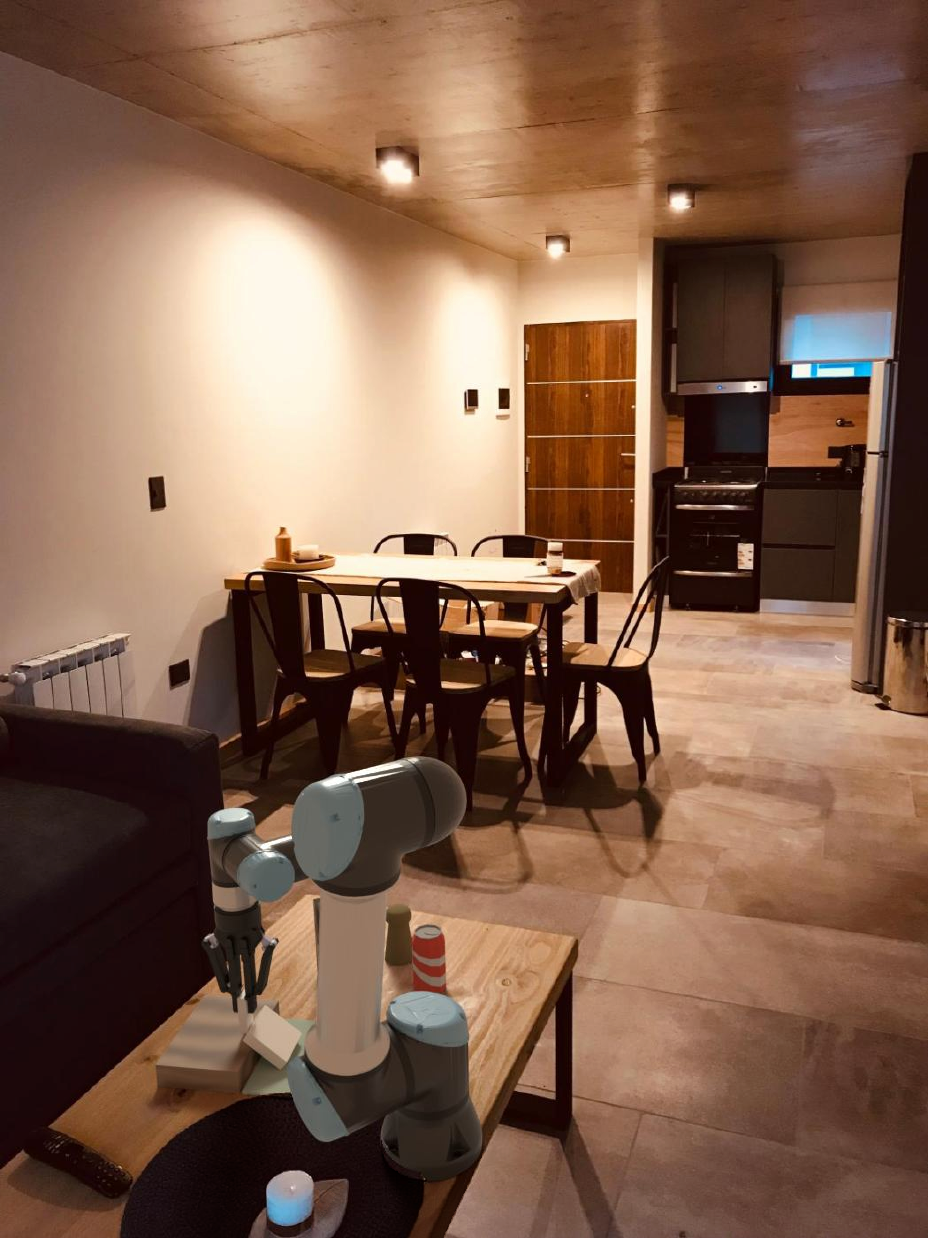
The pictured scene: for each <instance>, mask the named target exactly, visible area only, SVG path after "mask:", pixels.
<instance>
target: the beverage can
mask: <svg viewBox="0 0 928 1238" xmlns="http://www.w3.org/2000/svg"><path fill="white" fill-rule="evenodd" d="M411 937H412V960H413V962H412V982H413V983H412V985H413V990H414V992H416V991H427V992H433V993H438V994H441V993H442V992H443V991H444V990H445V989H446V988H447V969H446V968H447V966H446V961H447V959H446V938H445V935H444V933H443V932H442V927H440V926H438V925H437V924H433V923H432V924H431V923H430V924H429V923H425V924H422V925H419V926H417V927H416V928H415V929H414V932H413V935H411Z"/></svg>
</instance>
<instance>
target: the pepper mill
mask: <svg viewBox="0 0 928 1238" xmlns="http://www.w3.org/2000/svg"><path fill="white" fill-rule="evenodd" d="M411 920H412V910H411V908H410V907H409V906H408V905H406V904H403V903H394V904H392V905H390V906H388V907H387V912H386V924H387V933H386V934H387V935H386V940H385V941H386V942H385V950H384V960H385V962H386V963H387V964H389V965H391V966H395V967H396V966H397V967H401V966H403V967H404V966H406V965H409V964H411V963H413V960H412V932H411V927H410V922H411Z"/></svg>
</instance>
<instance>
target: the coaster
mask: <svg viewBox="0 0 928 1238" xmlns="http://www.w3.org/2000/svg"><path fill="white" fill-rule="evenodd" d="M283 1018H284V1017H282V1016H281V1015H280V1016H279V1015H278V1014H277V1013H275V1012H274V1011H273V1010H272V1009H270V1008H269V1007H268V1006H266V1005H265V1006H264V1007H263V1008H262V1010H261V1011H260V1012H259V1013H258V1015H257V1017H256V1019H255V1020H254V1022H253V1024H252V1025H251V1027H250V1029H249V1030H248V1032H247V1034H246V1036H245V1037H244V1039H243V1041H244V1042H245V1043H246V1044H247V1045H249V1046H250V1047H251V1048H253V1049H254V1050H255V1051H256V1052H258V1053H259V1054H260V1056H263V1057H264V1058H265V1059H267V1060H268V1061H269V1062H271V1063H272V1064H273V1065H275V1066H276V1067H277V1068H278V1069H280V1070H281V1069H282V1068H283V1067H284V1065H285V1064H286V1063H287V1062H288V1060H289V1058H290V1056H291V1054H292V1052H293V1050H294V1048H295V1046H296V1044H297V1042H298V1040H299V1038H300V1036H301V1034H302V1033H301V1032H300V1031H299V1030H297V1029H296V1028H295V1027H293V1026H292V1025H291V1024H290V1023H288V1022H287V1021H286V1020H284V1019H283Z"/></svg>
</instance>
